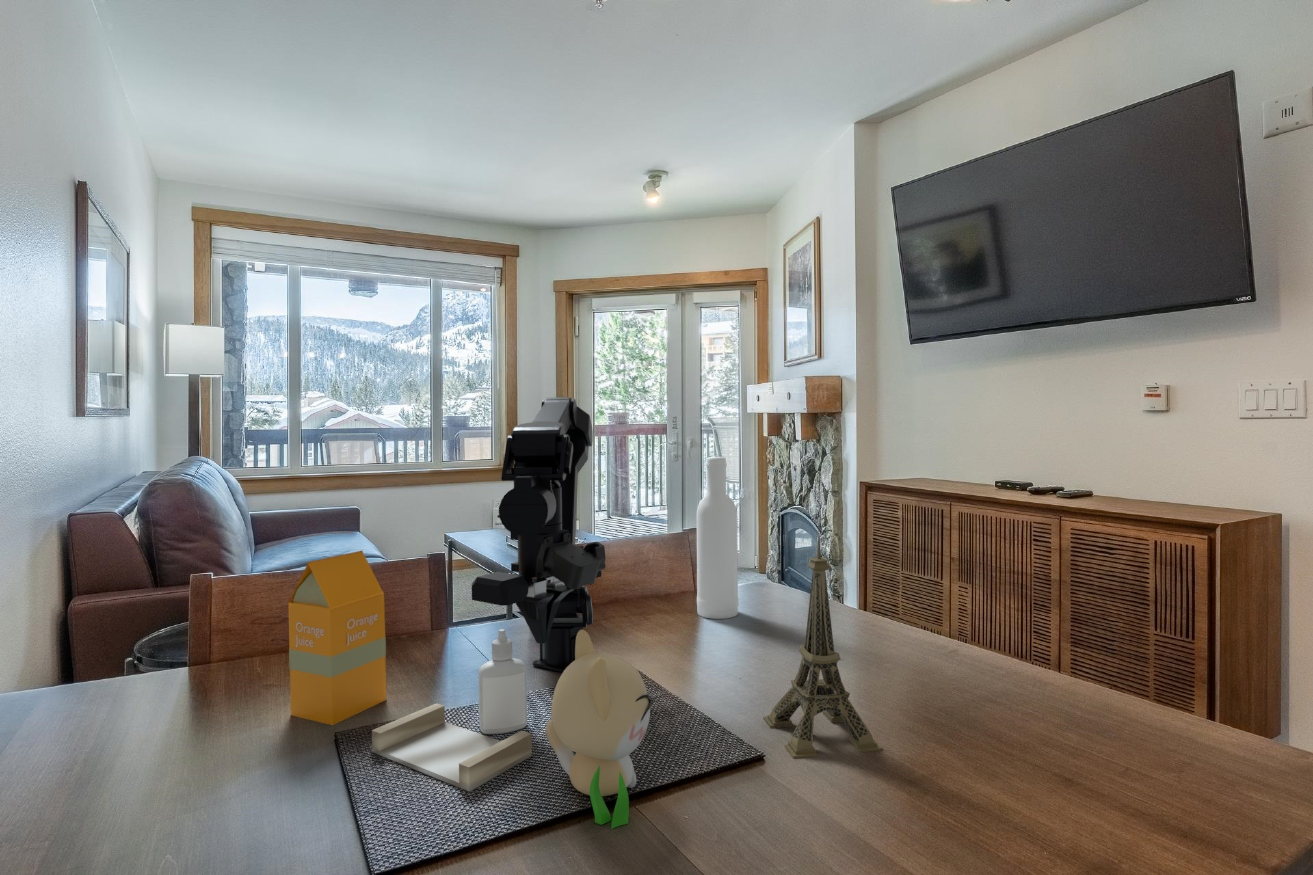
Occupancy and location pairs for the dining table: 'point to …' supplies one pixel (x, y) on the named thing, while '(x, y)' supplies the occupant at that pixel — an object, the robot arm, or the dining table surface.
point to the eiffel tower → (817, 691)
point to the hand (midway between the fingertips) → (541, 642)
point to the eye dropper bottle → (502, 690)
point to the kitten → (599, 726)
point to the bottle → (717, 547)
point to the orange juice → (337, 640)
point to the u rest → (448, 748)
